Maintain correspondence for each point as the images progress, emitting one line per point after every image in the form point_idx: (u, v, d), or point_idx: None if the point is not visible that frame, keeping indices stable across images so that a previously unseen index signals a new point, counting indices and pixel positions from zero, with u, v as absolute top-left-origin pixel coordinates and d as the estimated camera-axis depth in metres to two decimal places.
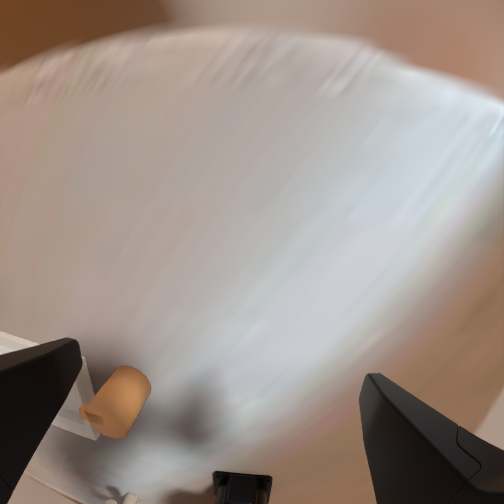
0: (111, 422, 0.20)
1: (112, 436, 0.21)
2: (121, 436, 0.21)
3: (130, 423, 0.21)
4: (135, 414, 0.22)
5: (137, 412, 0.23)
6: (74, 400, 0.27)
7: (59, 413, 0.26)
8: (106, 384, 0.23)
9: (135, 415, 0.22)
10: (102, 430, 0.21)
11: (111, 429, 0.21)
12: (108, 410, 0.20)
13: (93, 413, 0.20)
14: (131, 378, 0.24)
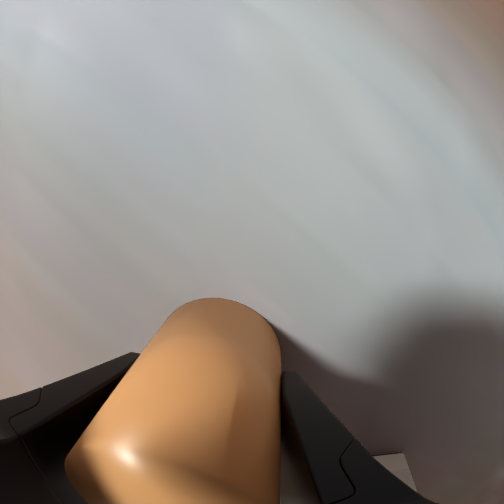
0: (150, 499, 0.04)
1: None
2: (244, 499, 0.03)
3: (172, 422, 0.04)
4: (187, 379, 0.05)
5: (202, 367, 0.06)
6: None
7: None
8: None
9: (194, 381, 0.05)
10: None
11: None
12: (79, 472, 0.04)
13: None
14: None
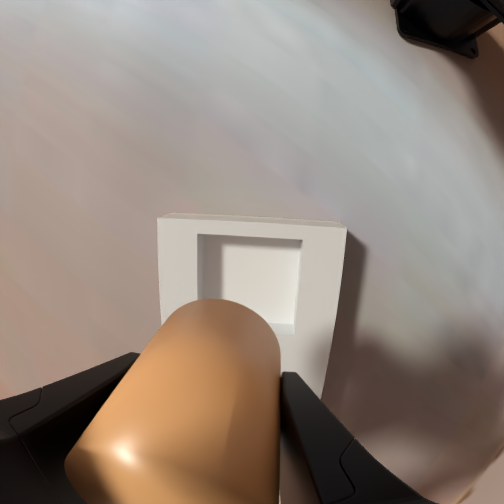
0: (150, 499, 0.04)
1: None
2: (243, 499, 0.03)
3: (172, 423, 0.04)
4: (187, 380, 0.05)
5: (202, 368, 0.06)
6: (264, 261, 0.18)
7: (296, 307, 0.17)
8: None
9: (193, 382, 0.05)
10: None
11: None
12: (79, 472, 0.04)
13: None
14: None
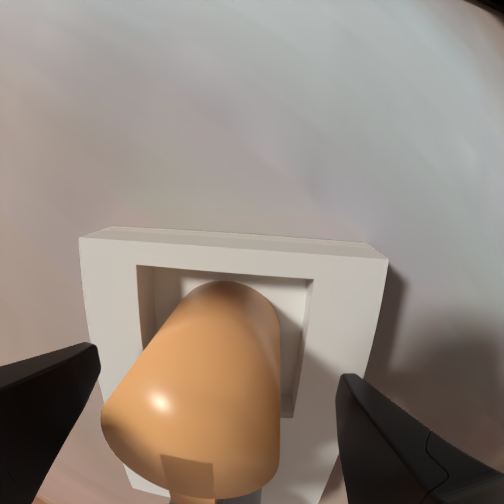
0: (174, 436, 0.05)
1: (270, 457, 0.05)
2: (252, 426, 0.05)
3: (197, 365, 0.06)
4: (206, 337, 0.07)
5: (217, 329, 0.07)
6: None
7: (298, 379, 0.10)
8: None
9: (211, 338, 0.07)
10: (244, 479, 0.06)
11: (217, 449, 0.05)
12: (114, 417, 0.05)
13: (162, 472, 0.06)
14: None
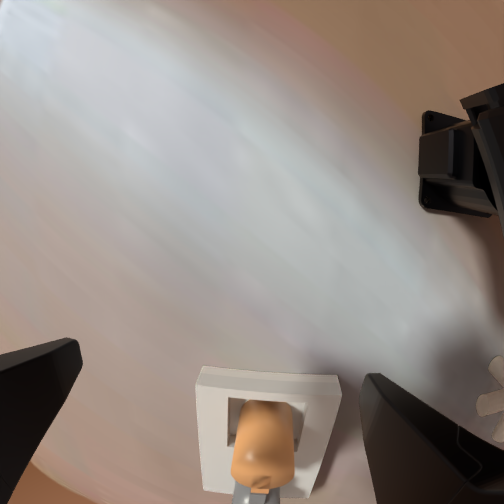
0: (260, 468, 0.16)
1: (291, 473, 0.16)
2: (286, 464, 0.15)
3: (268, 447, 0.16)
4: (268, 434, 0.17)
5: (271, 429, 0.18)
6: None
7: (300, 435, 0.21)
8: None
9: (270, 434, 0.17)
10: (282, 480, 0.16)
11: (274, 471, 0.16)
12: (238, 465, 0.16)
13: (251, 481, 0.16)
14: (241, 417, 0.20)
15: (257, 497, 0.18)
